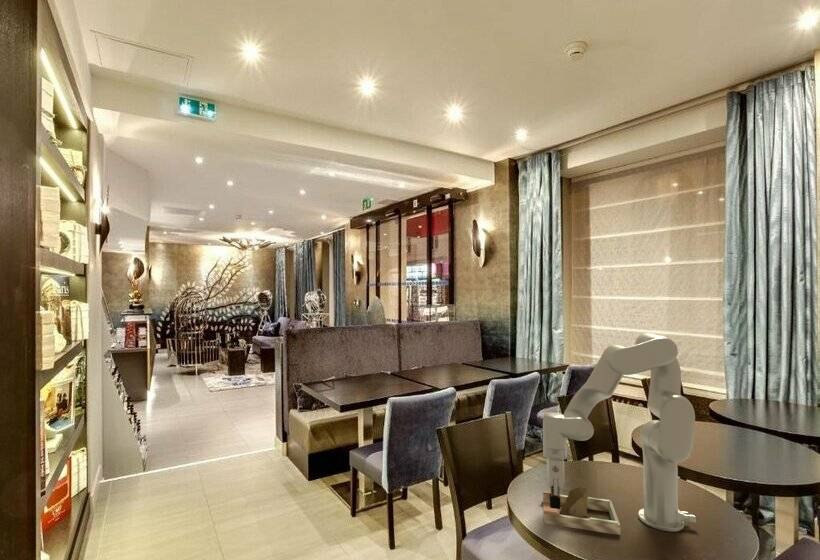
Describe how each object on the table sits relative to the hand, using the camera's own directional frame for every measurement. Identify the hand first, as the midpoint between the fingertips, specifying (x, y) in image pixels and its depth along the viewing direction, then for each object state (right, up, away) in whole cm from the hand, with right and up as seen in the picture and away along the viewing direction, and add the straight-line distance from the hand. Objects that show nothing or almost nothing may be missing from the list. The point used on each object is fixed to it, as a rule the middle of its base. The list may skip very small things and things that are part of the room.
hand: (555, 507), depth 140 cm
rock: (+5, -2, -2) cm, 6 cm away
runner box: (+7, -2, -2) cm, 8 cm away
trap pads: (-1, -2, 0) cm, 2 cm away
